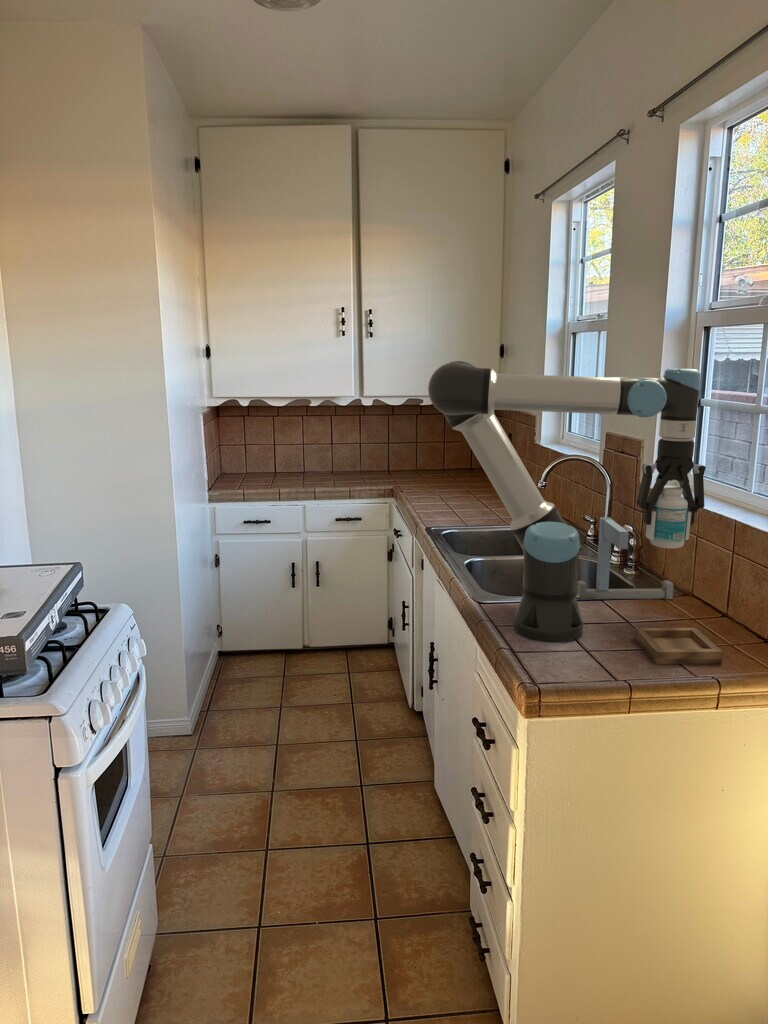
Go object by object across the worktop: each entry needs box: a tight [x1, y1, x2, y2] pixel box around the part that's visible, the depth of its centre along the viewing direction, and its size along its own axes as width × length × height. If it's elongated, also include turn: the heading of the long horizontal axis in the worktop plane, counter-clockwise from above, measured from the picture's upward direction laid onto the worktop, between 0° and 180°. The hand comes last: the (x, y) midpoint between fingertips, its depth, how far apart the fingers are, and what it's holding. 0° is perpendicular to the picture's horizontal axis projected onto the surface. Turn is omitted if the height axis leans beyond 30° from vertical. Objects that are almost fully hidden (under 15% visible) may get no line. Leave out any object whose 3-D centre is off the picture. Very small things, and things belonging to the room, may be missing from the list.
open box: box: [634, 627, 724, 665], centre depth 151 cm, size 13×13×2 cm
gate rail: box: [577, 580, 675, 601], centre depth 184 cm, size 23×3×4 cm, turn 90°
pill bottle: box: [649, 485, 688, 549], centre depth 167 cm, size 8×7×14 cm
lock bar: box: [595, 516, 629, 590], centre depth 176 cm, size 2×15×18 cm, turn 0°
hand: (667, 538), depth 168 cm, fingers closed on pill bottle, 7 cm apart
